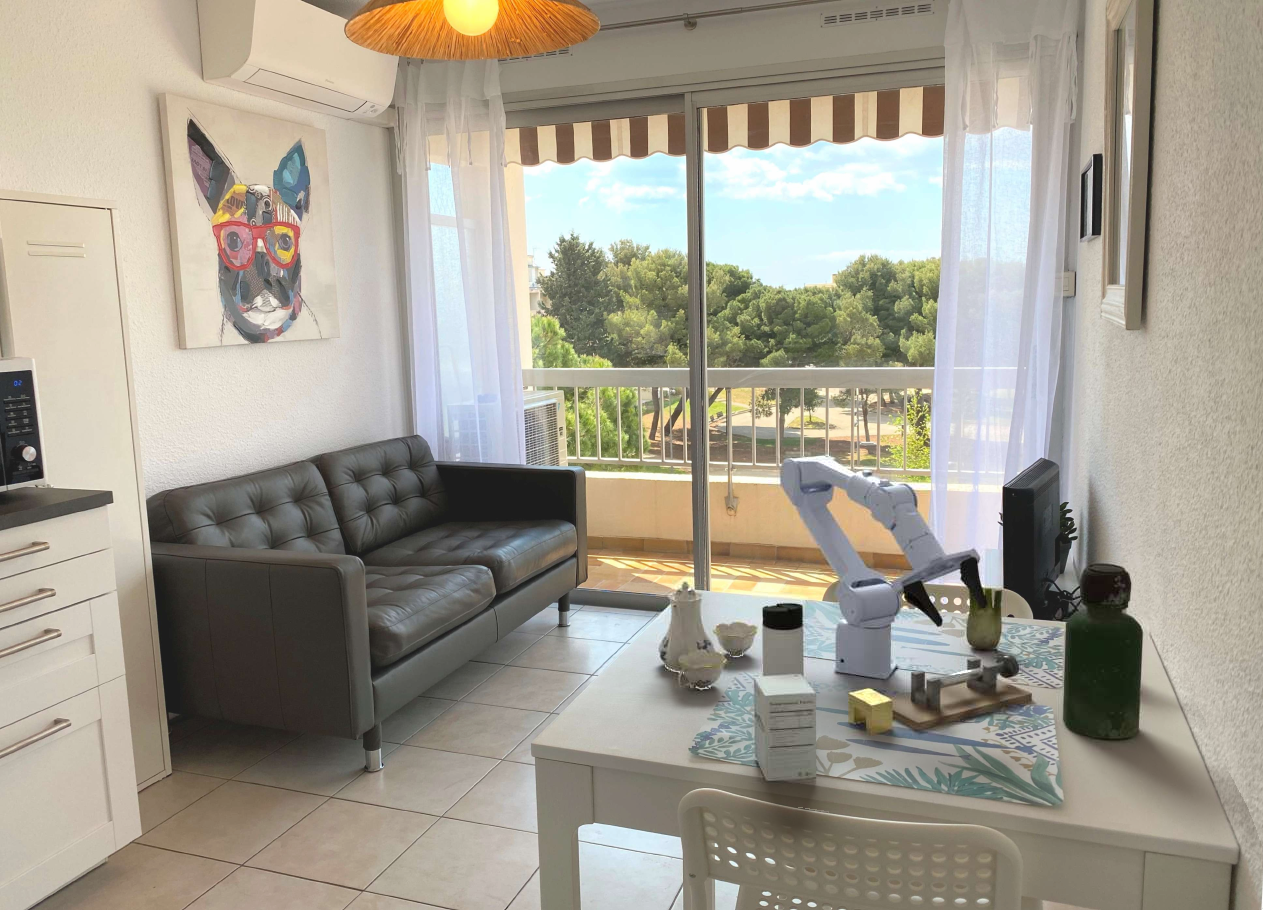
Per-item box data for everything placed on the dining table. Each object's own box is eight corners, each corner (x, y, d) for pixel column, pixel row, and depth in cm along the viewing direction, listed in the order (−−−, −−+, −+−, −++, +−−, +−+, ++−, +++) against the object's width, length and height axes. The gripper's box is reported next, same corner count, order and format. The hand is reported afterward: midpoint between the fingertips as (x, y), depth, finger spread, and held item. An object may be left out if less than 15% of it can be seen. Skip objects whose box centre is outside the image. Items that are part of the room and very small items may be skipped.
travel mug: (780, 739, 145) (779, 612, 142) (755, 724, 150) (753, 601, 148) (813, 730, 147) (813, 605, 145) (787, 715, 153) (786, 595, 150)
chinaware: (724, 710, 160) (732, 616, 158) (631, 690, 166) (637, 598, 163) (760, 655, 186) (768, 573, 184) (679, 639, 192) (685, 559, 189)
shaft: (947, 697, 153) (948, 675, 152) (931, 689, 156) (932, 668, 155) (1018, 679, 159) (1019, 658, 159) (1002, 672, 162) (1002, 652, 162)
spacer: (871, 734, 145) (872, 705, 145) (848, 721, 150) (848, 692, 150) (892, 729, 147) (892, 700, 146) (869, 716, 152) (869, 688, 151)
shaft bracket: (917, 730, 146) (918, 692, 145) (875, 707, 155) (875, 672, 154) (1031, 700, 156) (1032, 665, 155) (985, 680, 165) (986, 647, 164)
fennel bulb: (1003, 648, 181) (1004, 586, 180) (993, 655, 178) (994, 592, 176) (973, 642, 185) (974, 582, 183) (962, 649, 181) (963, 587, 180)
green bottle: (1049, 725, 147) (1054, 567, 143) (1084, 707, 153) (1090, 555, 149) (1116, 747, 138) (1123, 580, 135) (1151, 728, 144) (1158, 568, 141)
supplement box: (753, 758, 139) (752, 675, 137) (803, 755, 139) (803, 672, 137) (764, 782, 131) (763, 695, 130) (817, 778, 132) (817, 691, 130)
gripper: (879, 549, 153) (922, 620, 146) (962, 516, 154) (1008, 585, 146) (878, 570, 159) (918, 639, 151) (957, 538, 160) (1002, 605, 152)
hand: (962, 614), depth 149 cm, fingers open, 7 cm apart
